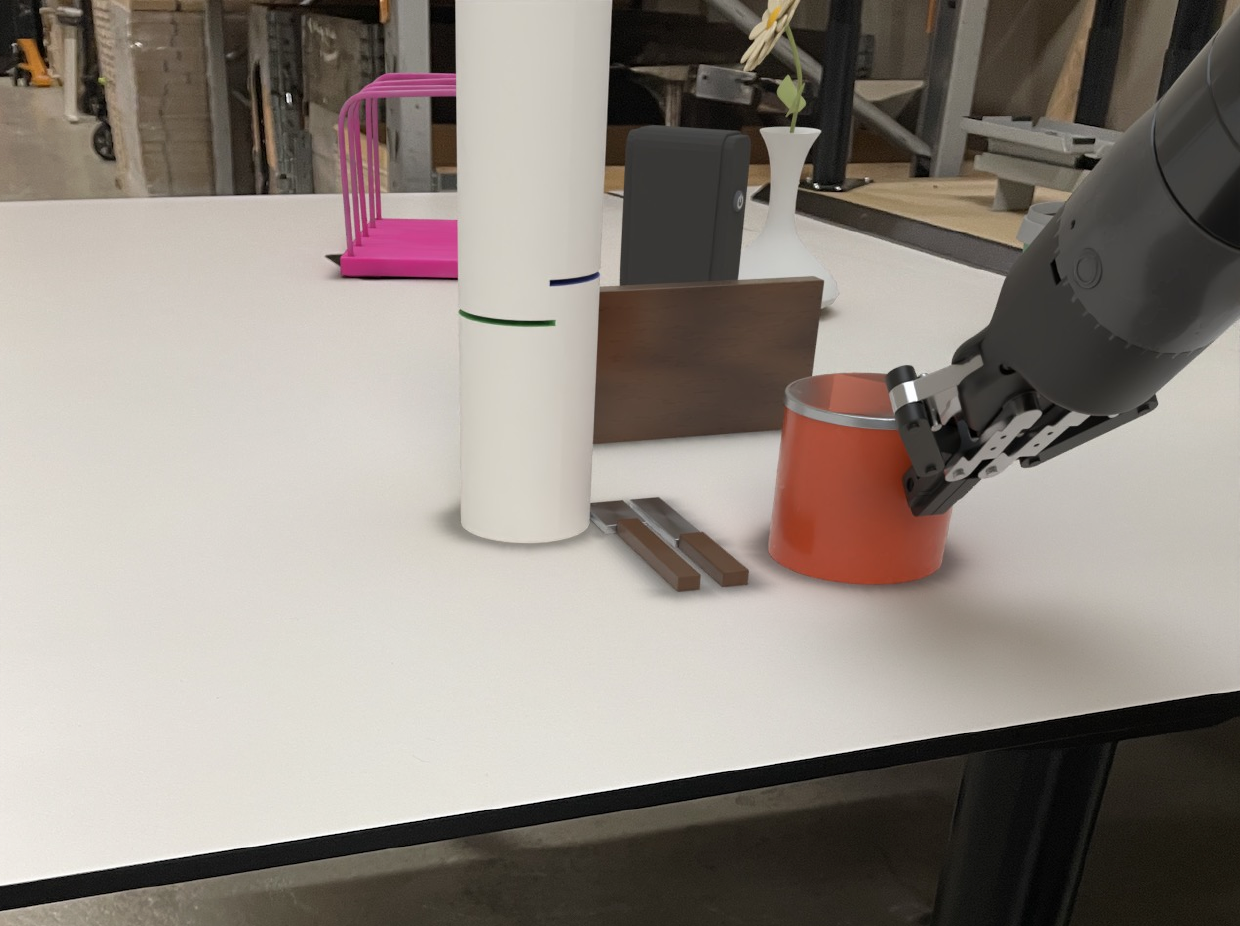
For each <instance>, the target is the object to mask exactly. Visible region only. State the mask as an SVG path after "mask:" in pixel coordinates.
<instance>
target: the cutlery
mask: <svg viewBox="0 0 1240 926" xmlns="http://www.w3.org/2000/svg"><path fill="white" fill-rule="evenodd" d="M590 520H591V521H592V522H593V523H594V524H595V525H596V526H597V527H598V529H600V530H601V531H602V532H603V533H604V534H605V535H609V534H611V535H612V534H616V535H618V536H619V537H620V538H621V539H622V541H624V542H625V543H626V545H628V547H630V548H631V549H632V550H633V551H634V552H635V553H636V554H637V555H638V556H640V558H641V559H643V560H644V562H646V563H647V564H648V565H649V566H650V567H651V568H652V570H654V571H655V572H656V573H657V574H658V575H659V576H660V577H661V578H663V579H664V580H665V581H666V582H667V584H668V585H670V586H671V587H672V588H673V589H674V590H675V591H676V592H678V593H679V592H688V591H697V590H700V589H701V588H700V587H701V577H702V576H701V574H700V573H699V572H698V570H696V569H695V568H693V566H691V564H689V563H688V562H687V561H686V560H685V559H684V558H683V557H681V556H680V555H679V554H678V553H677V552H676V551H675V550H674V549H672V548H678V549H679V550H680V551H681V552H682V553H684V554H685V555H686V557H688V558H689V559H690V560H692V561H693V562H694V563H695V564H696V565H697V566H698V567H699V568H700V569H702V570H703V571H704V572H705V573H706V574H707V575H708V576H710V578H712V579H713V580H714V581H715V582H716V583H717V584H719V585H720V586H721V587H722V588H727V587H736V586H746V585H748V583H749V575H750V570H749V569H748V568H747V567H746V566H744V565H743V563H741V562H740V561H739V560H737V559H736V558H735V557H734V556H732V555H731V554H730V553H729V552H728V551H727V550H725V549H724V548H723V547H722V546H721V545H720V544H719V543H717V542H716V541H715V540H714V539H712V538H711V537H710V536H709V535H708V534H706V533H705V532H704V531H700V530H699V529H697V527H695V526H694V524H691V522H690V521H688V520H686V518H684V517H683V516H682V515H681V514H680V513H678V512H677V511H676V510H675V509H674V508H673V507H671V506H670V505H669V504H668V503H666V501H664V500H663V499H662V498H661V497H660V496H655V497H645V498H644V497H643V498H635V499H634V498H632V499H629V504H628V503H627V502H625V501H624V500H623V499H619V500H607V501H606V500H605V501H596V502H595V501H594V502H590ZM648 526H649V527H650V528H652V529H650V528H649V527H648ZM652 530H654V531H655V532H656V533H657V534H658V535H657V534H656V533H655V532H654V531H652ZM659 536H661V537H662V539H664V540H665V541H666V542H667V543H668V544H669V545H670V546H669V545H668V544H667V543H666V542H665V541H663V540H662V539H661V538H660V537H659ZM671 546H672V548H671Z"/></svg>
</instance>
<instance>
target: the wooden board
mask: <svg viewBox="0 0 1240 926" xmlns="http://www.w3.org/2000/svg"><path fill="white" fill-rule="evenodd" d="M823 288H824V280H822V279H820V278H817V277H815V276H805V277H785V278H764V279H744V280H724V281H703V282H683V283H663V284H643V285H622V286H620V285H607V286H606V285H605V286H602V285H601V286H600V292H599V315H598V337H597V360H596V383H595V406H594V429H593V445H599V444H612V443H625V442H638V441H652V440H664V439H665V440H666V439H679V438H692V437H705V436H719V435H732V434H744V433H757V432H758V433H759V432H771V431H782V425H783V416H784V408H785V403H784V391H785V388H786V387H787V386H788V385H789V384H790V383H792V382H794V381H797V380H799V379H803V378H806V377H811V376H813V374H814V367H815V366H814V364H815V357H816V351H817V343H818V342H817V341H818V335H819V327H820V318H821V311H822V309H821V304H822V296H823Z"/></svg>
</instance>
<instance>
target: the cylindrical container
mask: <svg viewBox="0 0 1240 926" xmlns="http://www.w3.org/2000/svg"><path fill="white" fill-rule="evenodd" d="M454 2H455V74H456V96H455V97H456V100H455V101H456V102H455V103H456V105H455V106H456V111H455V112H456V198H457V207H456V208H457V209H456V212H457V213H456V214H457V220H458V278H457V293H458V294H457V295H458V296H457V299H458V300H457V302H458V303H457V305H458V308H459V310H458V312H457V313H458V314H457V316H458V389H459V390H458V392H459V393H458V395H459V397H458V399H459V401H458V403H459V474H460V476H459V480H460V482H459V483H460V485H459V486H460V491H459V492H460V525H461V526H462V529H465V530H466V531H467V532H468V533H470V534H473V535H474V536H478V537H480V538H483V539H487V540H492V541H496V542H503V543H513V544H514V543H516V544H540V543H551V542H557V541H563V540H566V539H570V538H572V537H575V536H578V535H580V534H582V533H584V532H585V531H586V530H587V529H588V528H589V526H590V522H591V521H590V520H591V519H590V503H591V498H592V495H591V494H592V475H593V474H592V473H593V451H594V450H593V449H594V444H593V429H594V406H595V383H596V360H597V337H598V315H599V292H600V287H601V273H600V270H601V268H602V267H601V266H602V265H601V264H602V245H603V241H602V240H603V238H602V237H603V222H604V221H603V218H604V199H605V173H606V172H605V171H606V154H607V153H606V152H607V149H606V148H607V129H608V107H609V106H608V105H609V82H610V57H611V36H612V15H613V13H612V10H613V0H454Z"/></svg>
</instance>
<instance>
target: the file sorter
mask: <svg viewBox="0 0 1240 926" xmlns="http://www.w3.org/2000/svg"><path fill="white" fill-rule="evenodd" d="M418 97H419V98H422V97H423V98H425V97H426V98H427V97H428V98H429V97H433V98H434V97H456V73H439V72H438V73H437V72H434V73H433V72H387V73H384V74H382V75H380V76H379V77H377V78H376V79H374V80H373V82H371V83H369V84H367V85H365V86H364V87H363V88H361V90H360V91H359V92H357V93H355V94H353V95H352V96H350V97H349V98H348V99H347V100H346V101H345V102H344V103H343V105H342V106H341V109H340V112H339V115H338V119H337V132H338V147H339V162H340V163H339V164H340V175H341V188H342V201H343V202H342V203H343V212H344V213H343V214H344V227H345V238H346V239H345V240H346V249H345V251H344V252H343V253H342V255H341V256H340V258H339V259H340V260H339V261H340V275H341V276H346V277H351V278H353V277H354V278H355V277H356V278H382V277H407V278H409V277H411V278H450V279H451V278H453V279H458V219H441V218H440V219H439V218H432V219H431V218H394V217H393V218H386V217H382V197H381V174H380V149H379V120H378V117H379V116H378V101H379V99H385V98H387V99H389V98H390V99H391V98H418ZM363 100H365V129H366V130H365V131H366V134H365V135H366V158H367V159H366V160H367V163H366V164H367V183H368V185H367V186H368V187H367V188H368V205H369V206H368V207H369V208H368V209H369V210H368V211H369V221H368V214H367V202H366V191H365V178H364V166H363V156H362V141H361V127H360V107H361V102H362V101H363ZM346 115H347V141H348V155H349V157H348V158H349V170H350V183H351V184H350V185H351V200H352V213H353V215H351V203H350V192H349V177H348V164H347V151H346V134H345V122H346V121H345V120H346ZM351 216H353V225H354V227H353V228H354V240H353V228H352V217H351ZM360 219H361V220H360ZM361 229H362V230H361Z"/></svg>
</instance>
